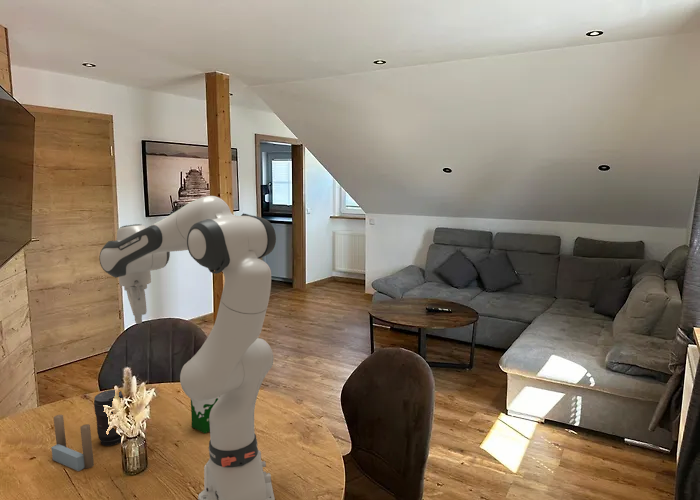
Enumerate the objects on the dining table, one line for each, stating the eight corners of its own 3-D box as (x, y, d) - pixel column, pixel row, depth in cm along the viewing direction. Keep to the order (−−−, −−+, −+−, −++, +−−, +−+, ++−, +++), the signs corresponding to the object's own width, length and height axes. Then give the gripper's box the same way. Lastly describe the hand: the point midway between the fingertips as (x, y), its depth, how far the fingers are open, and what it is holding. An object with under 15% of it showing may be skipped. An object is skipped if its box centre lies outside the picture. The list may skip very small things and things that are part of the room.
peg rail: (63, 451, 148) (59, 414, 146) (95, 464, 141) (91, 425, 139) (49, 458, 144) (45, 420, 142) (81, 472, 137) (77, 432, 135)
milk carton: (209, 417, 168) (206, 360, 165) (227, 424, 163) (224, 367, 160) (187, 427, 161) (183, 369, 158) (204, 436, 156) (201, 376, 153)
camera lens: (92, 443, 152) (87, 397, 150) (115, 431, 159) (111, 387, 157) (109, 450, 148) (105, 403, 146) (132, 437, 156) (128, 392, 153)
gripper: (149, 283, 141) (153, 330, 143) (143, 271, 159) (146, 313, 161) (125, 285, 138) (129, 333, 140) (121, 273, 156) (125, 315, 158)
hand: (138, 322), depth 151 cm, fingers closed
